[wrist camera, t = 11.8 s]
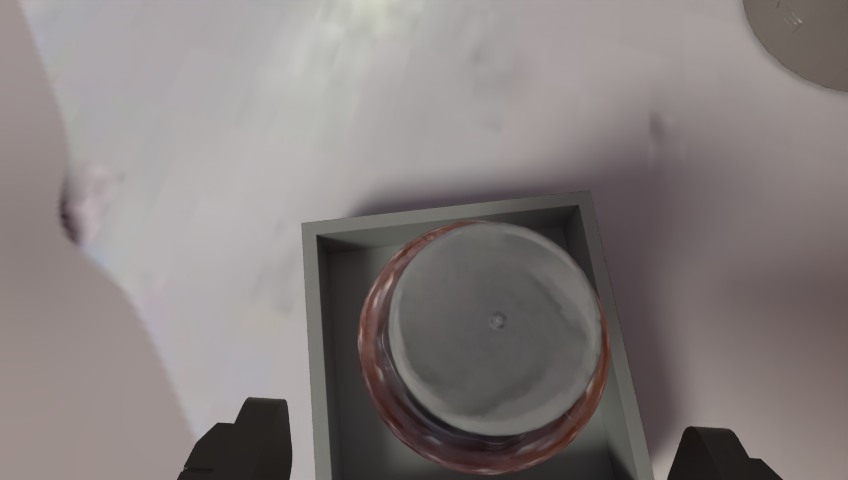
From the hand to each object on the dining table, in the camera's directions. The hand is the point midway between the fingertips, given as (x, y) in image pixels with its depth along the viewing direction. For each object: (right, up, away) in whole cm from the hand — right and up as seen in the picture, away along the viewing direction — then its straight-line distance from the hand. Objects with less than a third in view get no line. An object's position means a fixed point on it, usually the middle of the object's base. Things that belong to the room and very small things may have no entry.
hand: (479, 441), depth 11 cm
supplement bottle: (0, -1, +10) cm, 10 cm away
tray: (0, -1, +10) cm, 10 cm away
